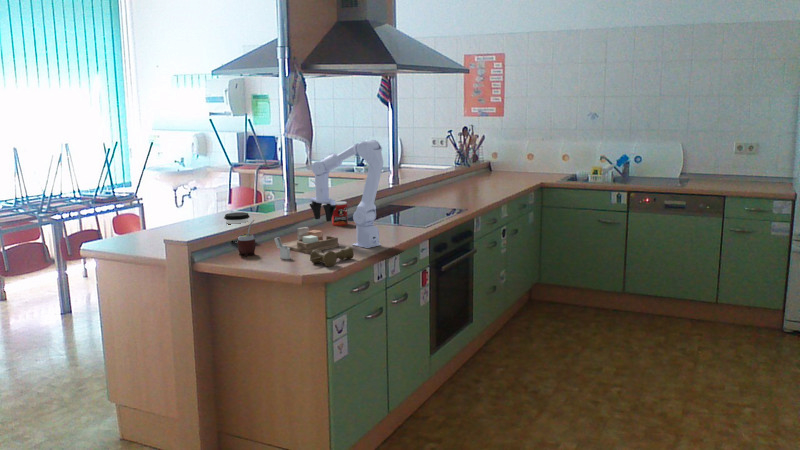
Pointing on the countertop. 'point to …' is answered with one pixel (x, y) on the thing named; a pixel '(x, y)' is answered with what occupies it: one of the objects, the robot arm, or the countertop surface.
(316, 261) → the kendama
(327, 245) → the lane rack
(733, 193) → the countertop surface
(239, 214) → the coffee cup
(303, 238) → the block
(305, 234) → the tethered block
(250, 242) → the mate gourd
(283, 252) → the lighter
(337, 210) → the canned food
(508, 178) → the countertop surface
